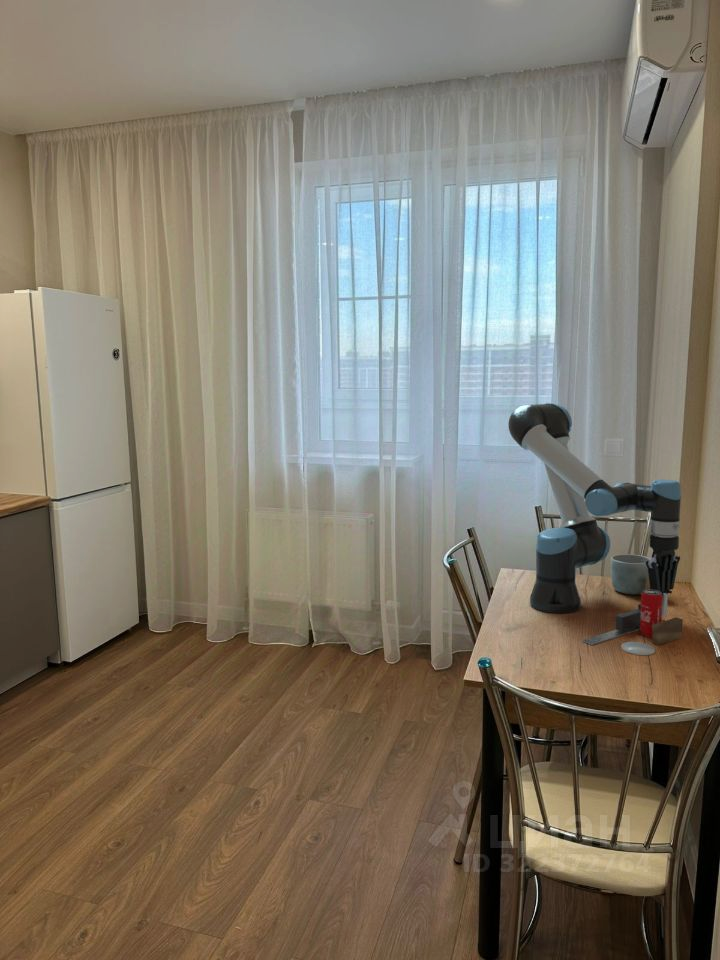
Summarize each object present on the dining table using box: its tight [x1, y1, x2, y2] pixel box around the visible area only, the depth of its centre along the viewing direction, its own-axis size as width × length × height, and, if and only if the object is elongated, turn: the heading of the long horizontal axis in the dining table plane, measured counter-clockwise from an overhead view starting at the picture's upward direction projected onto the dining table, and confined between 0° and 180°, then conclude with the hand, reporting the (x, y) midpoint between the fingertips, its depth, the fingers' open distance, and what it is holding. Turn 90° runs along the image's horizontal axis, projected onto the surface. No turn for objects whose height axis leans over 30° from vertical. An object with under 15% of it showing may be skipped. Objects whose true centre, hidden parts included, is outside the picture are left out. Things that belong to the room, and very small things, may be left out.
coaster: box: [621, 641, 656, 656], centre depth 170 cm, size 8×8×1 cm
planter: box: [610, 553, 652, 596], centre depth 218 cm, size 12×12×11 cm
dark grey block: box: [615, 603, 641, 632], centre depth 184 cm, size 3×12×5 cm, turn 122°
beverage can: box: [640, 589, 663, 639], centre depth 179 cm, size 5×5×12 cm
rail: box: [581, 626, 640, 646], centre depth 181 cm, size 3×25×1 cm, turn 122°
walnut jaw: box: [651, 617, 684, 646], centre depth 175 cm, size 2×10×5 cm, turn 122°
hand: (660, 614), depth 191 cm, fingers closed
